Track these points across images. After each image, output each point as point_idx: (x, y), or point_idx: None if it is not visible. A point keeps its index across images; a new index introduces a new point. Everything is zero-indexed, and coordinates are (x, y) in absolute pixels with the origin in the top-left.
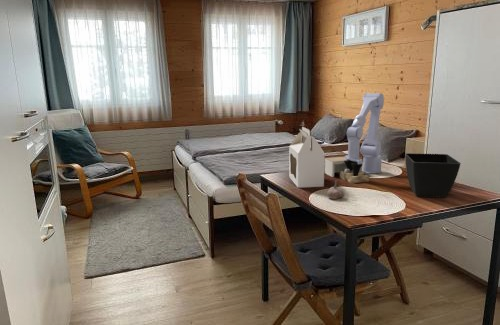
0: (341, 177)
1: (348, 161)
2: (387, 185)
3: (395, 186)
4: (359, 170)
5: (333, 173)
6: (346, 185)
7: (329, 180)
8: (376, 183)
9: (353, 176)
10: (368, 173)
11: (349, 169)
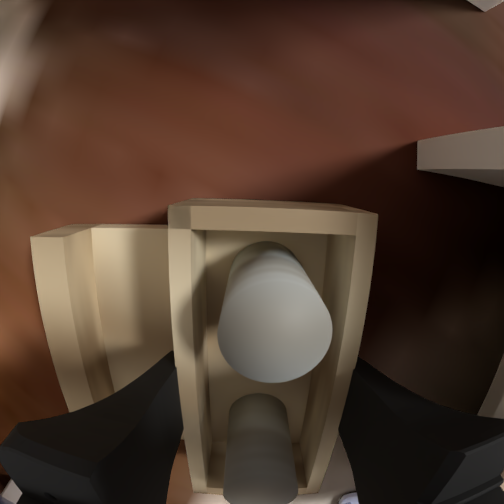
0: (295, 203)
1: (424, 498)
2: (12, 426)
3: (2, 438)
4: (225, 476)
5: (442, 155)
6: (20, 129)
7: (274, 23)
8: (48, 414)
9: (62, 289)
10: (339, 501)
11: (251, 375)
